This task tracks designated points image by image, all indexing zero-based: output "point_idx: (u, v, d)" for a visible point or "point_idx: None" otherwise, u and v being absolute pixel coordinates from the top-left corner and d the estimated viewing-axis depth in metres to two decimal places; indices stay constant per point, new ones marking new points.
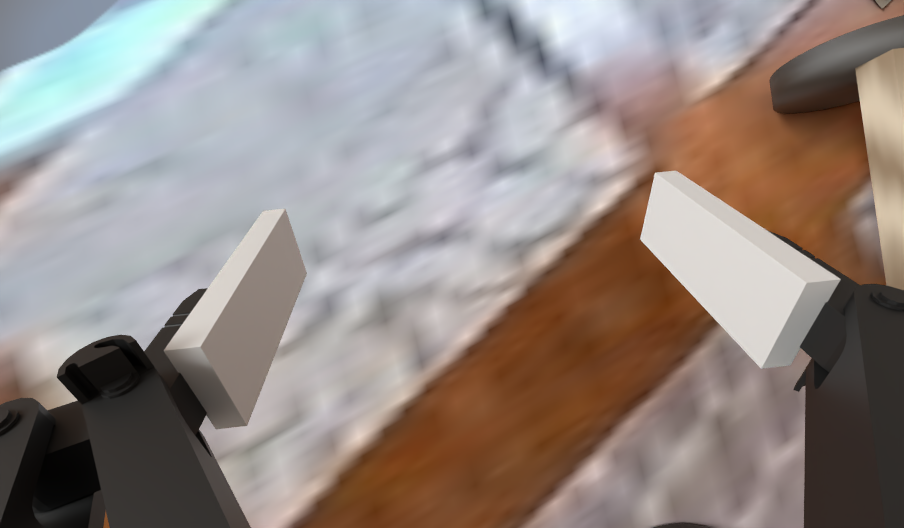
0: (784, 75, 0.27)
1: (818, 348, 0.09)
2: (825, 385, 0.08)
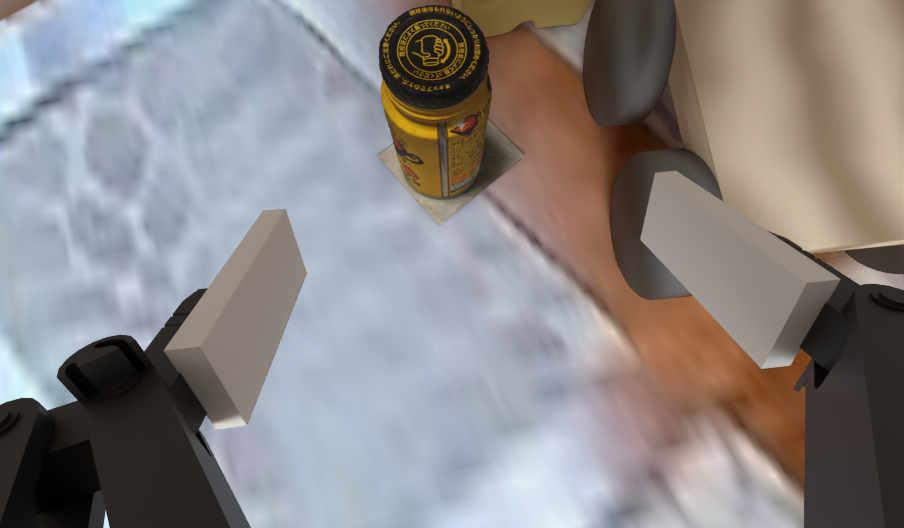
0: None
1: (818, 348, 0.09)
2: (825, 385, 0.08)
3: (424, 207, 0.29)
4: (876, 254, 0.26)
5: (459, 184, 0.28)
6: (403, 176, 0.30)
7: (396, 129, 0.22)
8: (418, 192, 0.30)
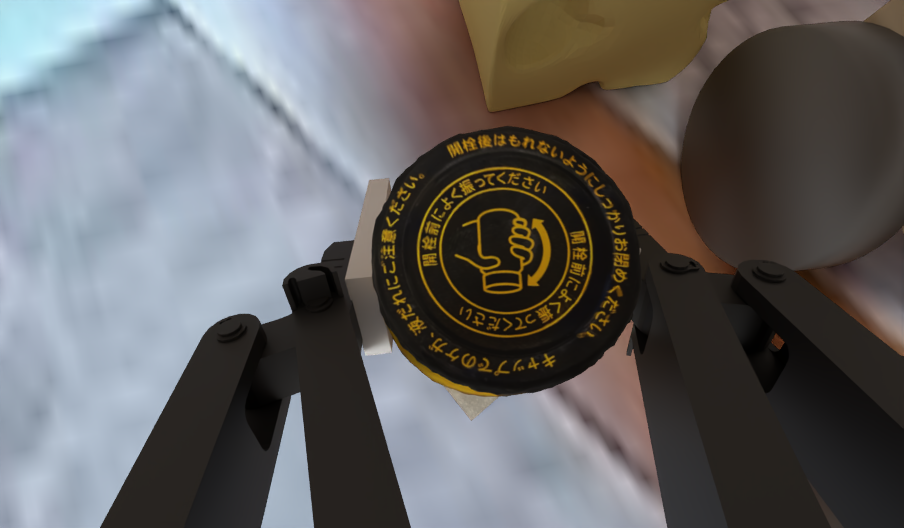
0: None
1: None
2: (647, 351, 0.09)
3: (448, 387, 0.18)
4: None
5: None
6: None
7: None
8: None
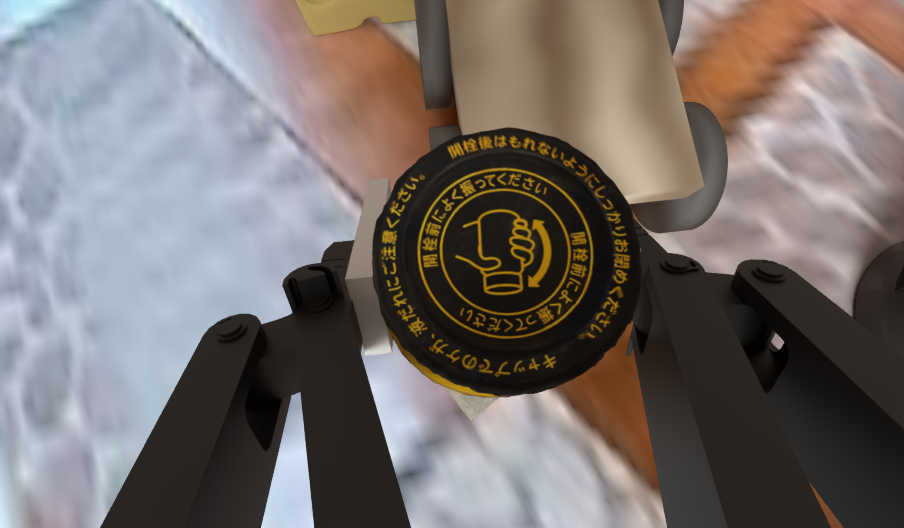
0: None
1: None
2: (647, 351, 0.09)
3: (448, 387, 0.18)
4: (650, 217, 0.30)
5: None
6: None
7: None
8: None
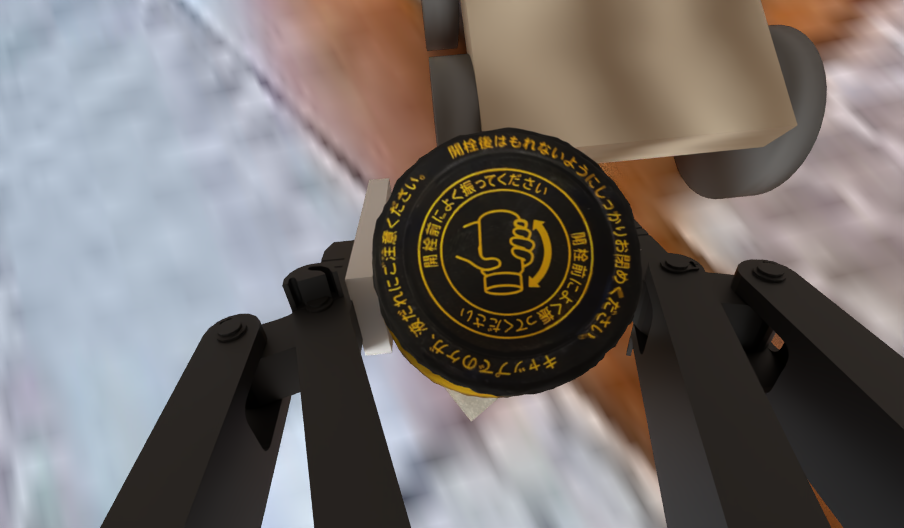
0: None
1: None
2: (647, 351, 0.09)
3: (448, 388, 0.18)
4: (707, 180, 0.24)
5: None
6: None
7: None
8: None
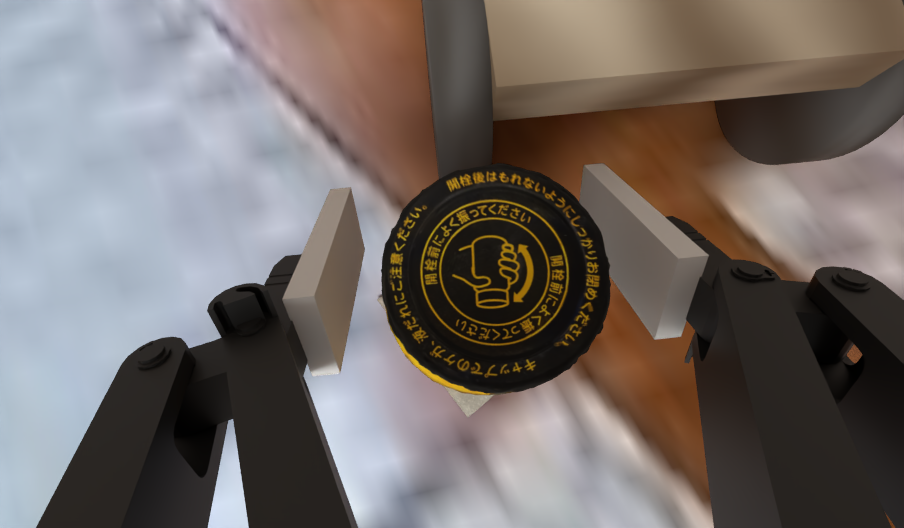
0: None
1: (696, 319, 0.10)
2: (708, 357, 0.09)
3: None
4: (766, 142, 0.19)
5: None
6: None
7: None
8: None
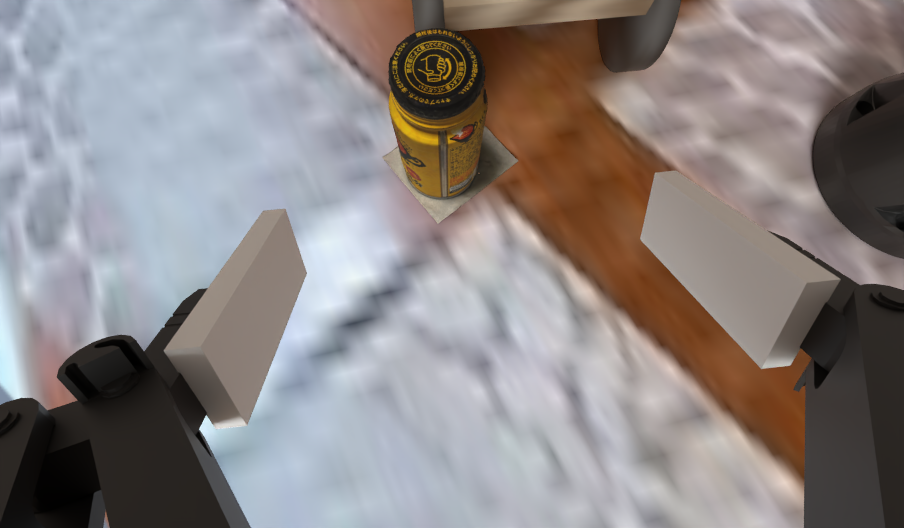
0: None
1: (818, 348, 0.09)
2: (825, 385, 0.08)
3: (425, 206, 0.32)
4: (618, 58, 0.32)
5: (457, 185, 0.30)
6: (406, 177, 0.33)
7: (401, 135, 0.24)
8: (419, 192, 0.32)
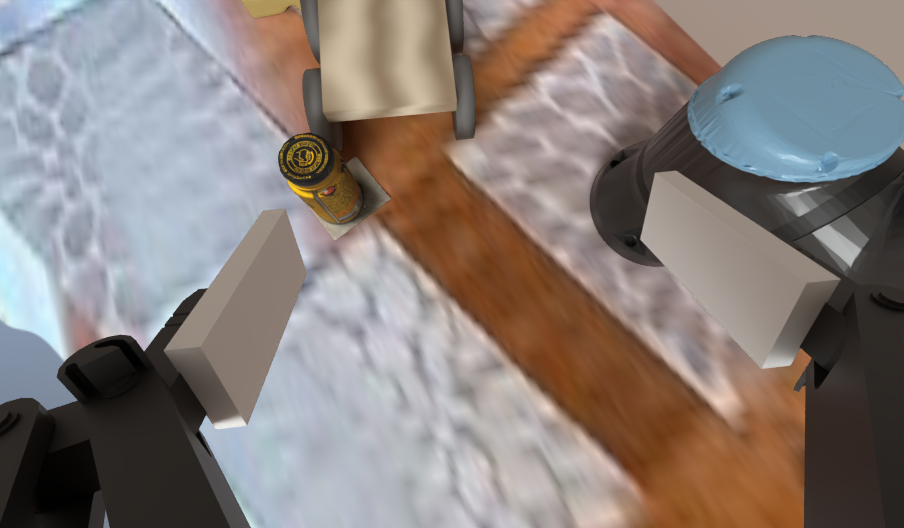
0: None
1: (818, 348, 0.09)
2: (825, 385, 0.08)
3: (327, 229, 0.48)
4: (455, 130, 0.48)
5: (344, 216, 0.46)
6: None
7: (294, 191, 0.40)
8: (323, 219, 0.48)
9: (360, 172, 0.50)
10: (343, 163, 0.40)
